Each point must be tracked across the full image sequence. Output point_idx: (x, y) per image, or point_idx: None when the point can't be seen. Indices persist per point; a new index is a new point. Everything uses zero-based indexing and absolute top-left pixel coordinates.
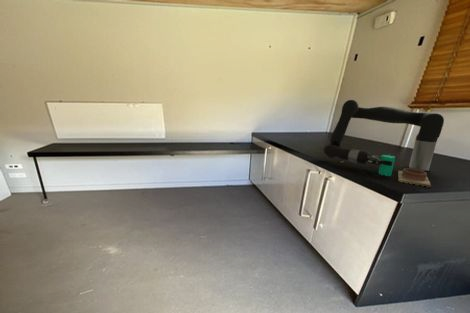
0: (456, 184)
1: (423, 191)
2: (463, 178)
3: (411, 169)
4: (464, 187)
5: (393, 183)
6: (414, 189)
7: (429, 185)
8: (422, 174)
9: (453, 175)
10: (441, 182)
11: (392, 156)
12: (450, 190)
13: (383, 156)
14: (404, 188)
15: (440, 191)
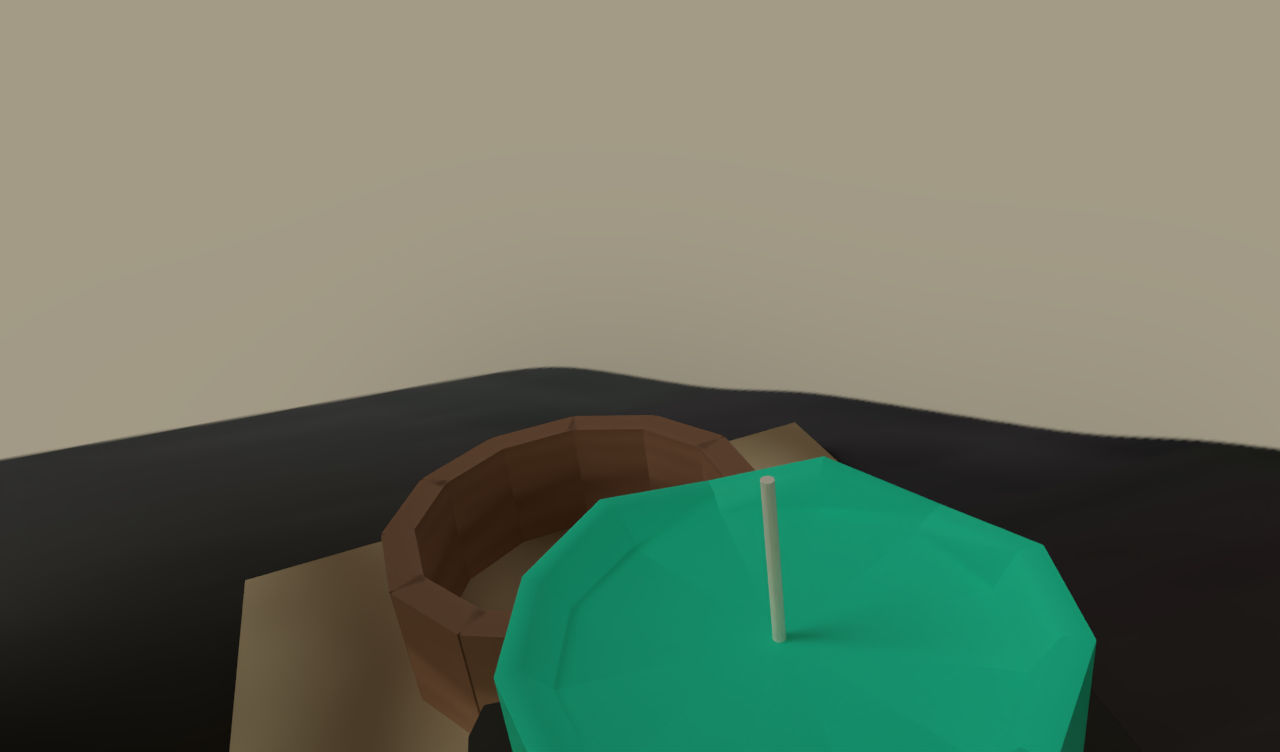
0: (370, 424)
1: (1041, 434)
2: (17, 463)
3: (425, 586)
4: (432, 386)
5: (1263, 677)
6: (1104, 480)
7: (800, 434)
8: (675, 421)
9: None
10: (412, 480)
11: (575, 580)
12: (675, 388)
13: (1080, 697)
14: (1249, 527)
15: (820, 398)
